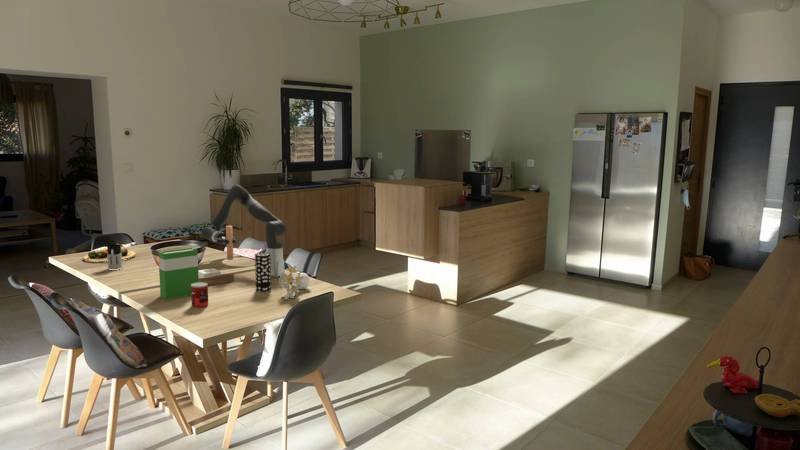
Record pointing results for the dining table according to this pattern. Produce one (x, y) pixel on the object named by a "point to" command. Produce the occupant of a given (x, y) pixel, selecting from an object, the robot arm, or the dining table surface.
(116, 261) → the black capped bottle
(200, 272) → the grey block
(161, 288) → the green box
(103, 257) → the wooden plate with food
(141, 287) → the dining table surface
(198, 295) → the canned food
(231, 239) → the terracotta dowel
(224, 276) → the walnut track
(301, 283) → the flower vase
